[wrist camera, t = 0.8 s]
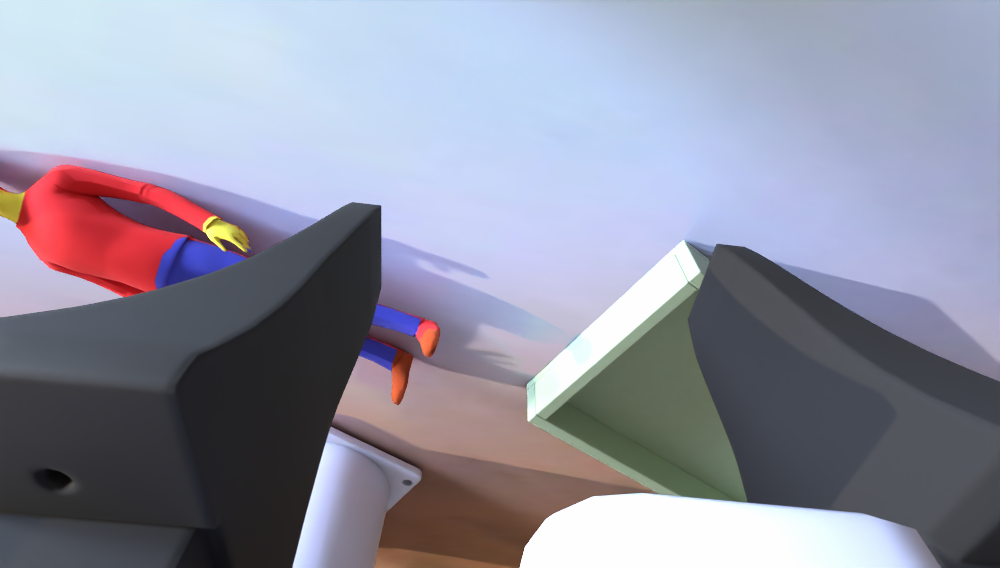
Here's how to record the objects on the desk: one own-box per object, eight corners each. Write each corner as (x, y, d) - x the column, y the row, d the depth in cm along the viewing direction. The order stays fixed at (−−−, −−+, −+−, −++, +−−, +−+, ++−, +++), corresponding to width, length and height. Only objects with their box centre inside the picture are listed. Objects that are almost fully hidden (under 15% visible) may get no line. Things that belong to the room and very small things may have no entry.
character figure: (386, 448, 22) (-202, 248, 18) (392, 396, 27) (-83, 221, 22) (445, 330, 21) (-170, 79, 16) (441, 294, 25) (-49, 85, 21)
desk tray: (755, 516, 32) (771, 556, 30) (526, 384, 27) (527, 421, 25) (919, 422, 28) (950, 461, 26) (683, 239, 22) (699, 270, 20)
